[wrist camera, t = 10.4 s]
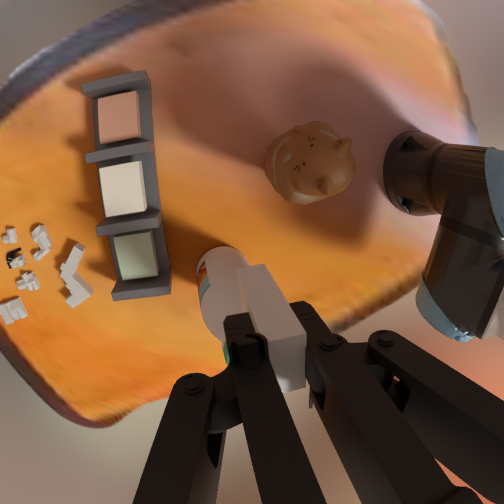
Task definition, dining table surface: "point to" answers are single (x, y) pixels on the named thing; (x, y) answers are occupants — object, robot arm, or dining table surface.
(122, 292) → the keypad
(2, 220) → the dining table surface
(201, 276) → the milk bottle
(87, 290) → the white puzzle pieces
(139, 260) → the sage key
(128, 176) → the cream key
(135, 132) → the brown flat block
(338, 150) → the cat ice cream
